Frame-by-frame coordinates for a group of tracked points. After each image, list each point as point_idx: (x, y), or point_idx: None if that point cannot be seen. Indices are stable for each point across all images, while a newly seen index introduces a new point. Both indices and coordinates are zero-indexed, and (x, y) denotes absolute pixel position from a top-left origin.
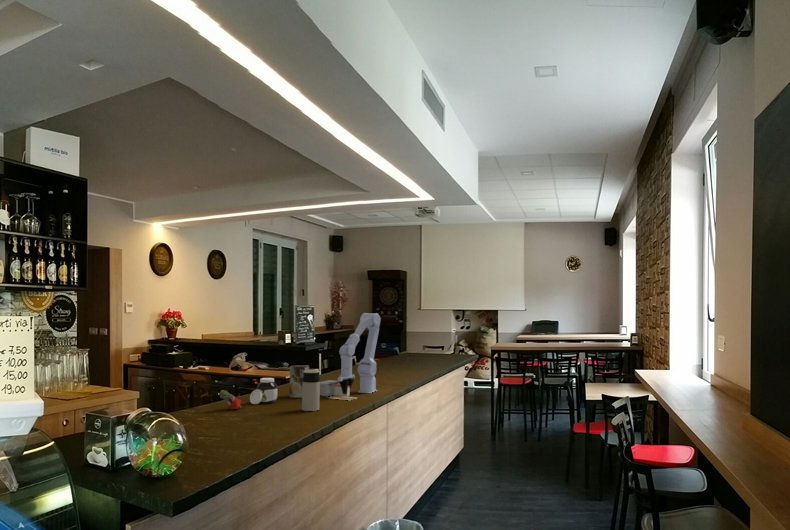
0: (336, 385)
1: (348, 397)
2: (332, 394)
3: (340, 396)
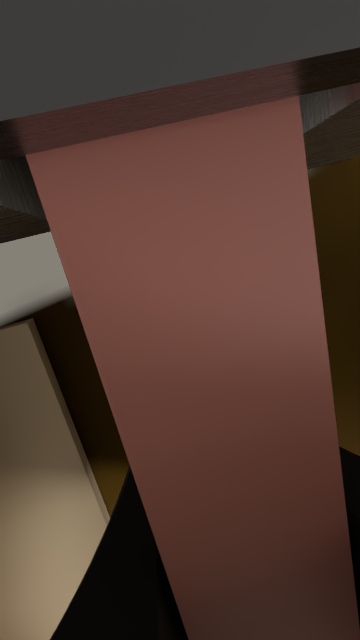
0: (82, 320)
1: None
2: (20, 236)
3: (23, 486)
